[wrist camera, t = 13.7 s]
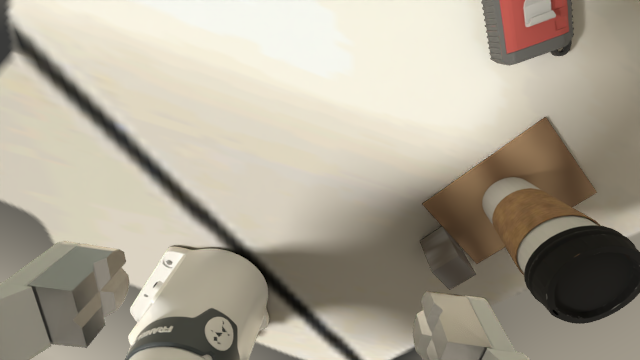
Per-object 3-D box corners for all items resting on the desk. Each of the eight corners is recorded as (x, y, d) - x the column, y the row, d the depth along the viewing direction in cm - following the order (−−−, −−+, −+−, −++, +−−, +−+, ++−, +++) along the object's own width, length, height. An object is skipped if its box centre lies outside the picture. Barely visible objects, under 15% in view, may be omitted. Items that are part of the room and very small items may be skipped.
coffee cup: (456, 198, 39) (520, 287, 25) (519, 152, 36) (628, 224, 23) (496, 240, 41) (574, 342, 28) (558, 199, 38) (679, 291, 25)
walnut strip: (453, 275, 44) (469, 310, 39) (399, 219, 41) (409, 248, 35) (595, 191, 38) (639, 218, 32) (544, 117, 35) (583, 133, 29)
